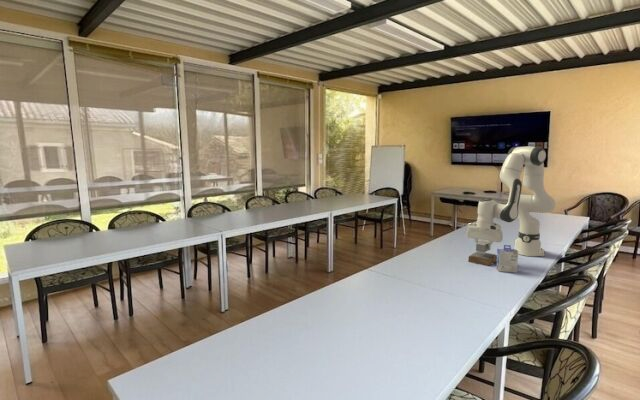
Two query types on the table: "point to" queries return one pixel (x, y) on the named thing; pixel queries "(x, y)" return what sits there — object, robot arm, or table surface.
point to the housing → (482, 246)
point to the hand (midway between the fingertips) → (483, 246)
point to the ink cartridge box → (507, 259)
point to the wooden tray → (482, 258)
